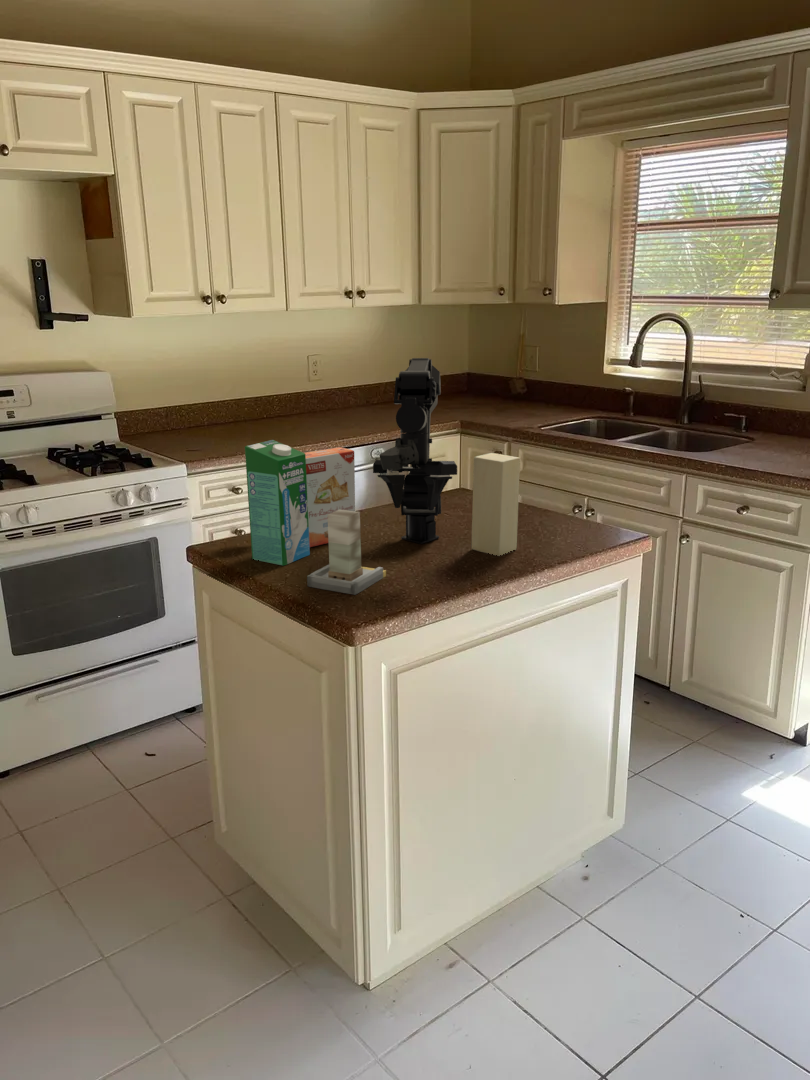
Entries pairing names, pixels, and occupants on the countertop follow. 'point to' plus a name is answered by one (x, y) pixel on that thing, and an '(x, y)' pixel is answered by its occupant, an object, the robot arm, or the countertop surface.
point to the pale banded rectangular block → (344, 545)
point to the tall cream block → (495, 503)
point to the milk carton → (277, 502)
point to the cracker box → (328, 488)
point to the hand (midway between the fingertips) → (413, 509)
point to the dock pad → (350, 587)
